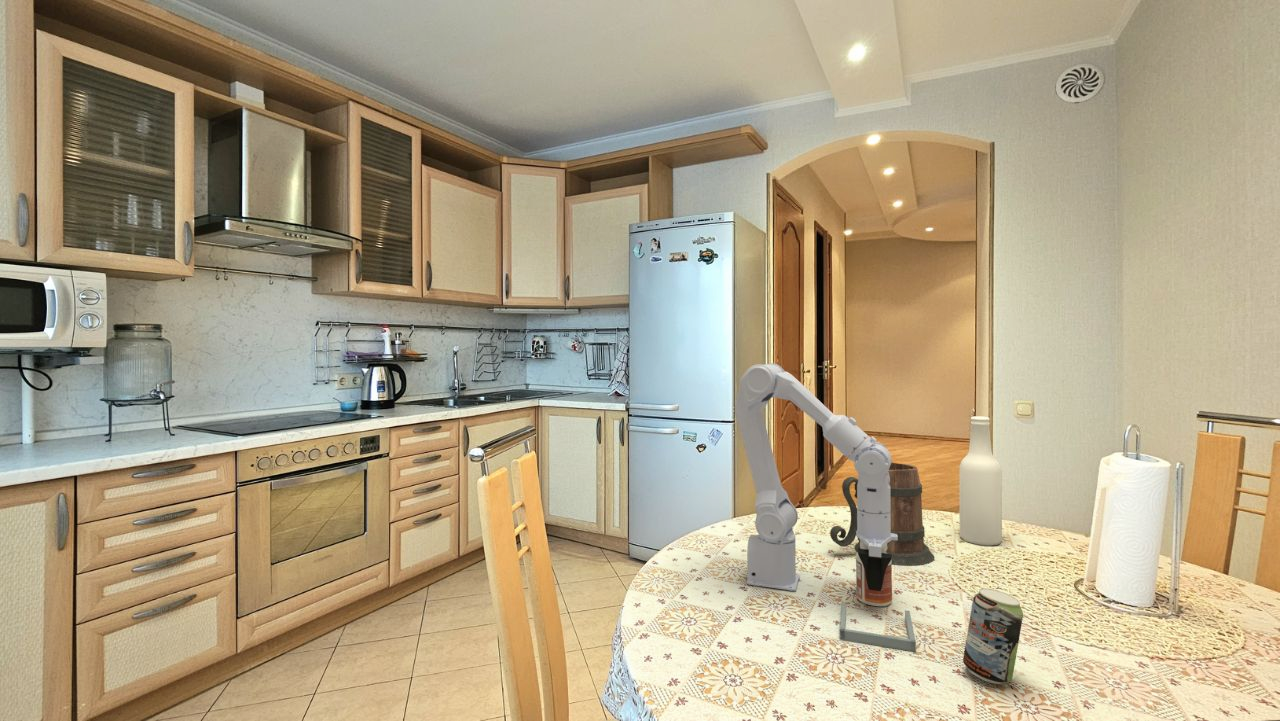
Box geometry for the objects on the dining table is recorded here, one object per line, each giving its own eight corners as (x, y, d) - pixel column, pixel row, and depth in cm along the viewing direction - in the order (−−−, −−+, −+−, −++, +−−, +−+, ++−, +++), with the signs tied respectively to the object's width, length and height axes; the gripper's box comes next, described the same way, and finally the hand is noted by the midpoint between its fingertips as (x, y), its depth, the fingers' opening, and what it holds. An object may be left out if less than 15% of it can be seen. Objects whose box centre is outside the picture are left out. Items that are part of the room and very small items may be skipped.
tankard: (904, 537, 138) (903, 457, 137) (952, 563, 121) (952, 471, 121) (815, 543, 134) (814, 461, 134) (852, 570, 118) (851, 476, 117)
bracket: (840, 639, 90) (840, 630, 90) (841, 609, 100) (841, 601, 100) (915, 651, 86) (915, 642, 86) (909, 619, 96) (909, 610, 96)
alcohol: (1010, 546, 131) (1010, 419, 130) (972, 546, 131) (972, 419, 130) (987, 534, 139) (987, 414, 139) (952, 534, 140) (951, 415, 139)
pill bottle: (899, 602, 103) (899, 542, 103) (879, 610, 99) (878, 549, 99) (869, 590, 108) (869, 533, 108) (849, 598, 105) (848, 539, 104)
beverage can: (953, 666, 82) (953, 585, 82) (1000, 663, 83) (1000, 582, 82) (983, 692, 76) (983, 604, 75) (1034, 688, 76) (1034, 602, 76)
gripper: (900, 523, 95) (900, 601, 95) (894, 501, 109) (895, 570, 109) (856, 519, 98) (856, 595, 98) (856, 498, 111) (856, 565, 111)
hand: (874, 582), depth 104 cm, fingers open, 6 cm apart
